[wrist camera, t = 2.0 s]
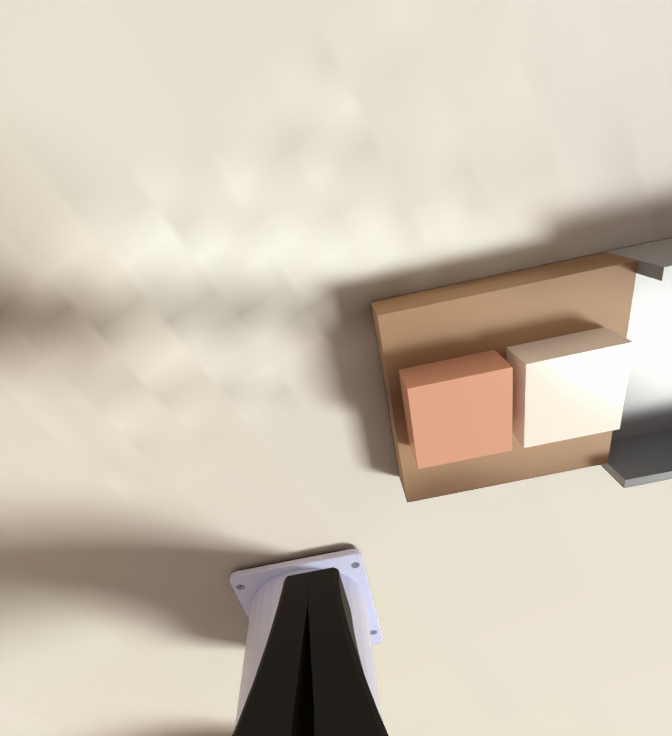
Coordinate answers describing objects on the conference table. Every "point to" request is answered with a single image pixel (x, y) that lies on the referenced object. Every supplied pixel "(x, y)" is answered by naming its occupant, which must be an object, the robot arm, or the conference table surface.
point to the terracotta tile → (458, 408)
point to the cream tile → (569, 385)
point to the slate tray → (647, 373)
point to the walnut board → (497, 332)
